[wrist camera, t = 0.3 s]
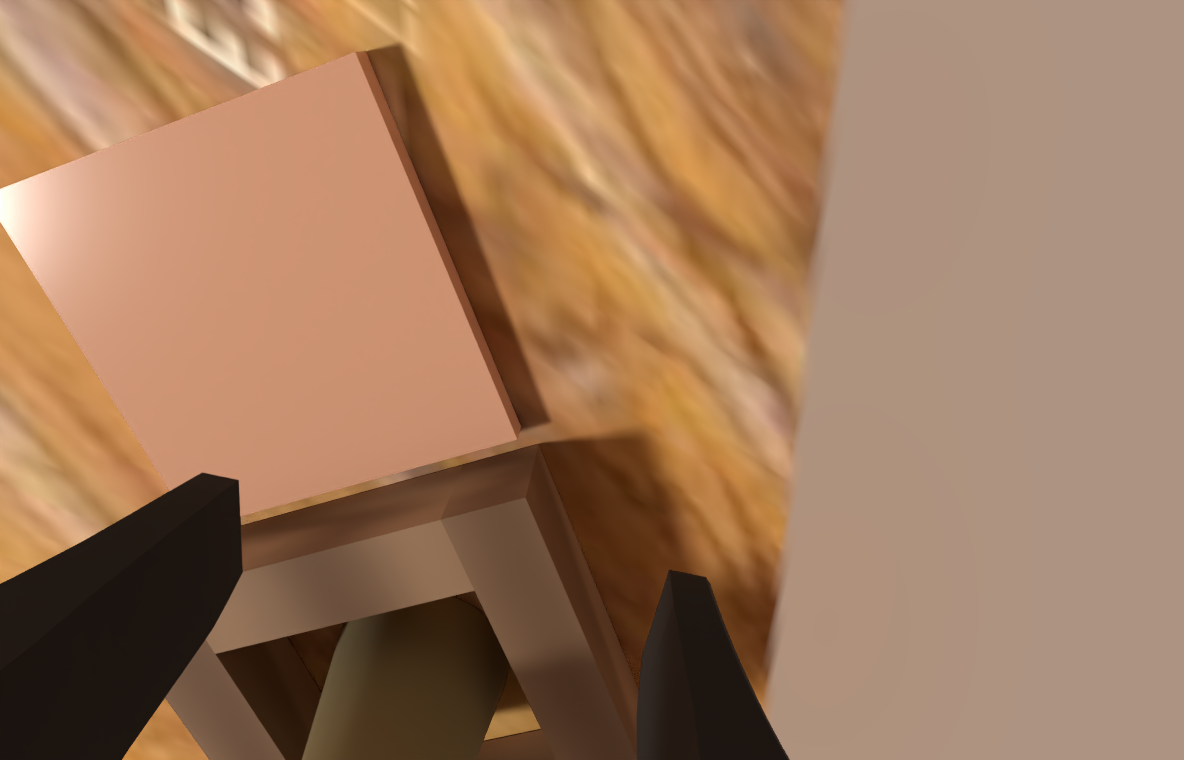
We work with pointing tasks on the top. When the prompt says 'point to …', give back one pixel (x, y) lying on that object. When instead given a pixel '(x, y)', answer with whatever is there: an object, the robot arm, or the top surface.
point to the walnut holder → (410, 577)
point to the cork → (410, 686)
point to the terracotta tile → (268, 292)
